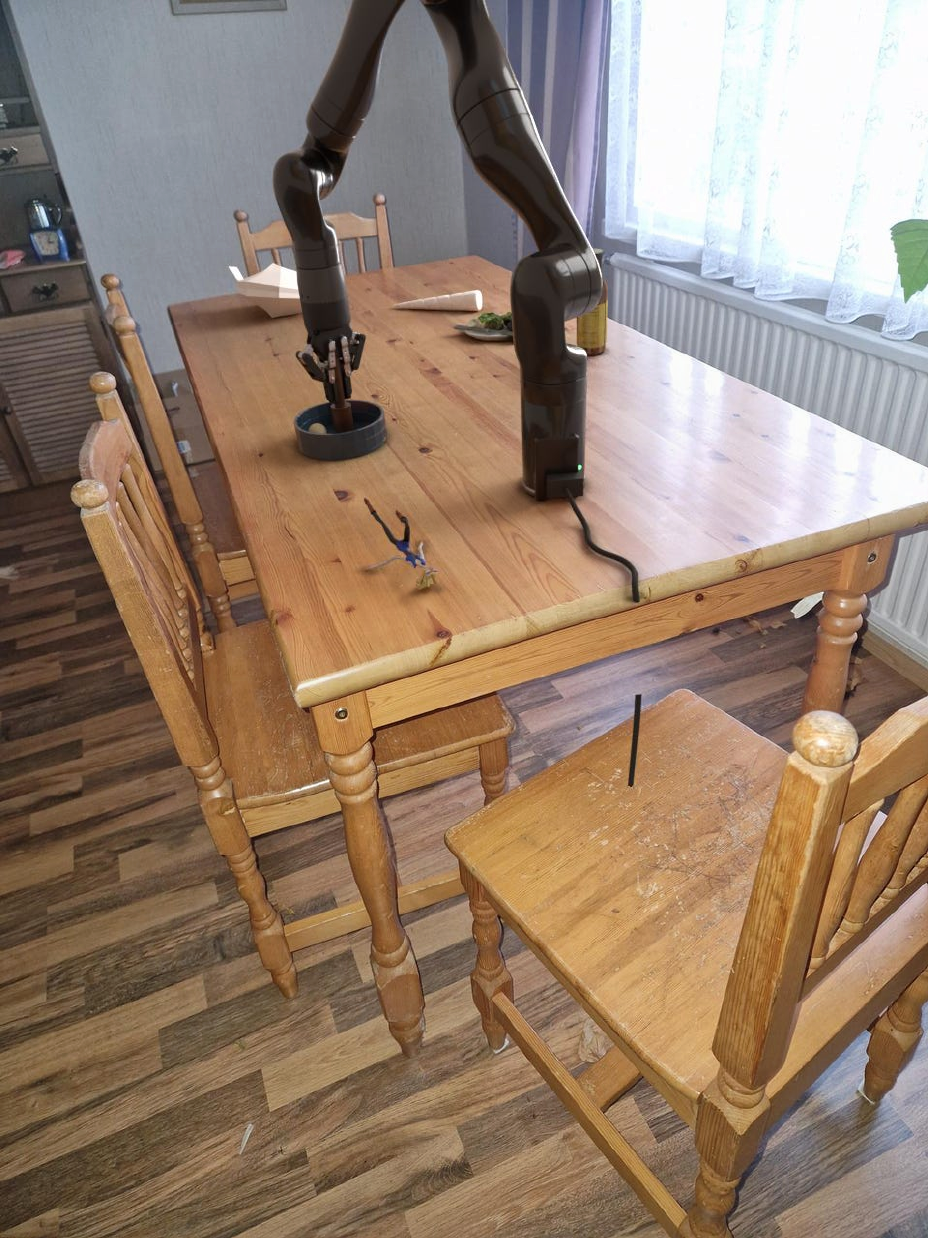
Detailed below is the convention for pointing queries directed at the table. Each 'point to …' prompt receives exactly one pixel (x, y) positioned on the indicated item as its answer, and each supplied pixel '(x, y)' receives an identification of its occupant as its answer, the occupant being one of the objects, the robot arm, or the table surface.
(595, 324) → the sauce bottle
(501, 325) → the salad plate
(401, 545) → the figurine
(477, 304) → the unicorn horn
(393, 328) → the table surface
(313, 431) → the cream ball
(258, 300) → the white faceted piece
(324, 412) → the bowl
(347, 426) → the brown stepped wooden peg
